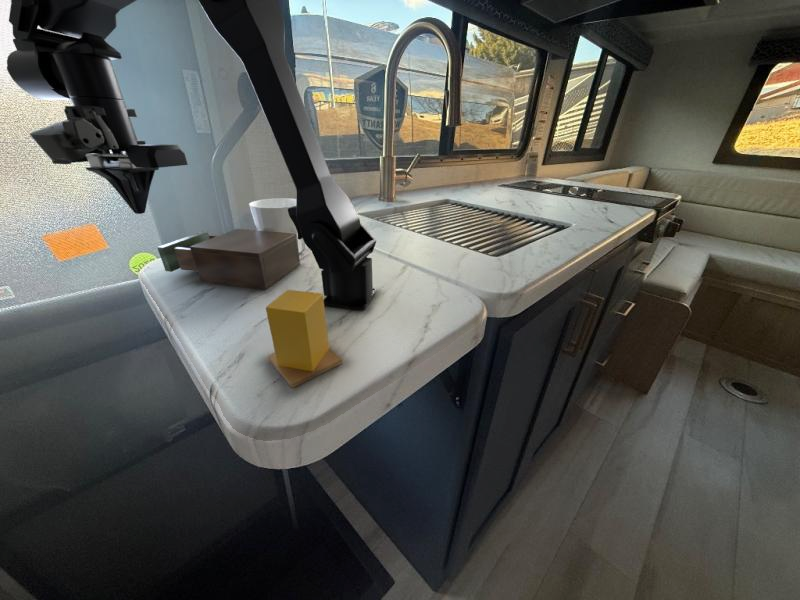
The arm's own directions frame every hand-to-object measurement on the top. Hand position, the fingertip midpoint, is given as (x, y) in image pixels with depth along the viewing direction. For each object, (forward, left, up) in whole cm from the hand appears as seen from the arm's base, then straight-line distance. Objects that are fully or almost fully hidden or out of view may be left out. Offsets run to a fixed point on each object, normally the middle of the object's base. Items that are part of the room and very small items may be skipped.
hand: (140, 213), depth 50 cm
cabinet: (-16, -4, -10) cm, 19 cm away
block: (-36, +17, -10) cm, 41 cm away
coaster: (-36, +17, -10) cm, 41 cm away
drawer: (-8, -4, -9) cm, 12 cm away
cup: (-15, -16, -10) cm, 24 cm away
